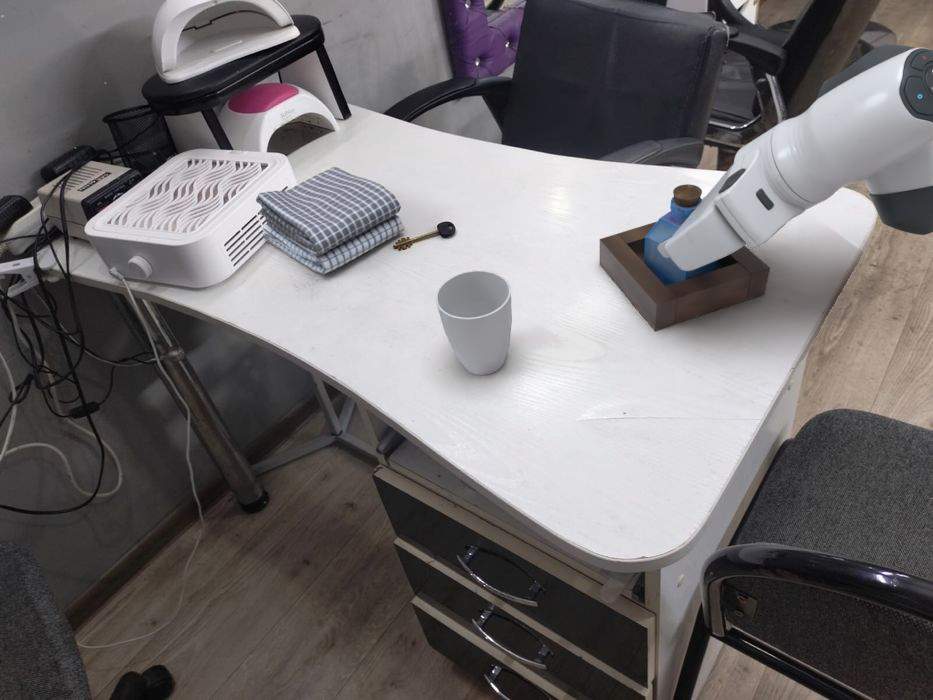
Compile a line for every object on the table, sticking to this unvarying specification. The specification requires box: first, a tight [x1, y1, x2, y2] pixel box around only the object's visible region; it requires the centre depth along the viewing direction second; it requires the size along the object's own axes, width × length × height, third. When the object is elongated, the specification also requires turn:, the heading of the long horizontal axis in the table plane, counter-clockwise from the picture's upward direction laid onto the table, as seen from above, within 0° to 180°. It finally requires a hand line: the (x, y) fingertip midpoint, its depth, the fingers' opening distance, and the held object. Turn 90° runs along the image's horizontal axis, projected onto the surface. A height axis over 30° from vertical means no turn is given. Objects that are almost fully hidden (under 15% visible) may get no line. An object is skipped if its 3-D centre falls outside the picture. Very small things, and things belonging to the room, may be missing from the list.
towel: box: [255, 166, 405, 275], centre depth 100 cm, size 15×18×8 cm
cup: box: [435, 269, 513, 376], centre depth 76 cm, size 8×8×10 cm
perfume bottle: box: [644, 183, 718, 286], centre depth 81 cm, size 6×6×12 cm
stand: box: [599, 221, 771, 332], centre depth 84 cm, size 14×14×4 cm
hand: (678, 231), depth 81 cm, fingers closed on perfume bottle, 7 cm apart
